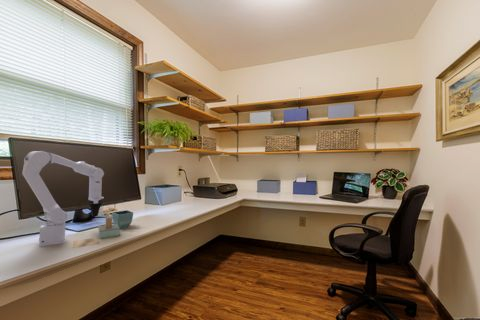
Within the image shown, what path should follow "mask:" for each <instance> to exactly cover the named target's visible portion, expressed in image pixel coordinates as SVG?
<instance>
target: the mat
mask: <svg viewBox="0 0 480 320" xmlns="http://www.w3.org/2000/svg"><path fill="white" fill-rule="evenodd" d="M99 244H100V241H99V236H97V237H92V238H91V237H90V238H86V239H79V240H78V239H77V240H74V241H73V243H72V245H73V246H72V249H75V248H81V247H87V246H88V247H89V246H93V245H99Z"/></svg>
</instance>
